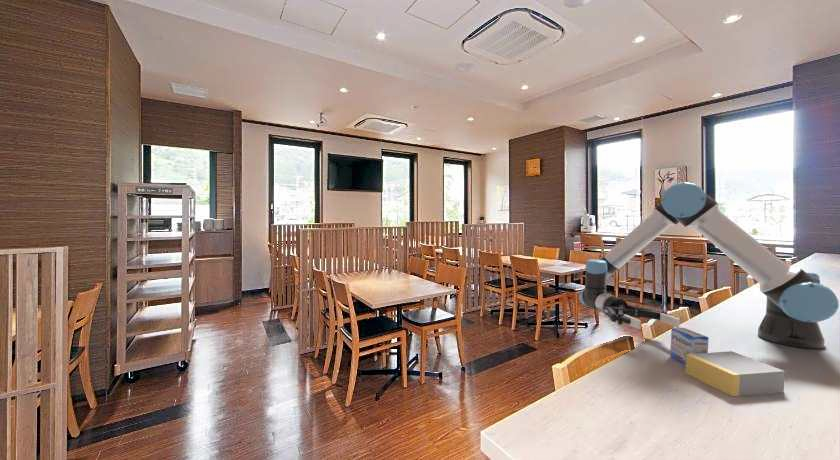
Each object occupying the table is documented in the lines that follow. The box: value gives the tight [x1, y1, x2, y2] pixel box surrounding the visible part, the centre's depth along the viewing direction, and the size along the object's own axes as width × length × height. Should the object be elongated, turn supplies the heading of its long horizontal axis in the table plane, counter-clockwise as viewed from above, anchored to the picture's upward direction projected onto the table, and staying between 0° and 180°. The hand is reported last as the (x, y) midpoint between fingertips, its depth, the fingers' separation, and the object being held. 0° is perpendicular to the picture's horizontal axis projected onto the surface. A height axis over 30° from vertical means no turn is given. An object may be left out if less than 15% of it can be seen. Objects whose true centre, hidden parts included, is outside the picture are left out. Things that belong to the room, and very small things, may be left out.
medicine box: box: [669, 327, 710, 365], centre depth 98 cm, size 8×4×9 cm, turn 5°
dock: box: [685, 350, 786, 397], centre depth 87 cm, size 14×12×5 cm
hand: (659, 324), depth 108 cm, fingers open, 13 cm apart
